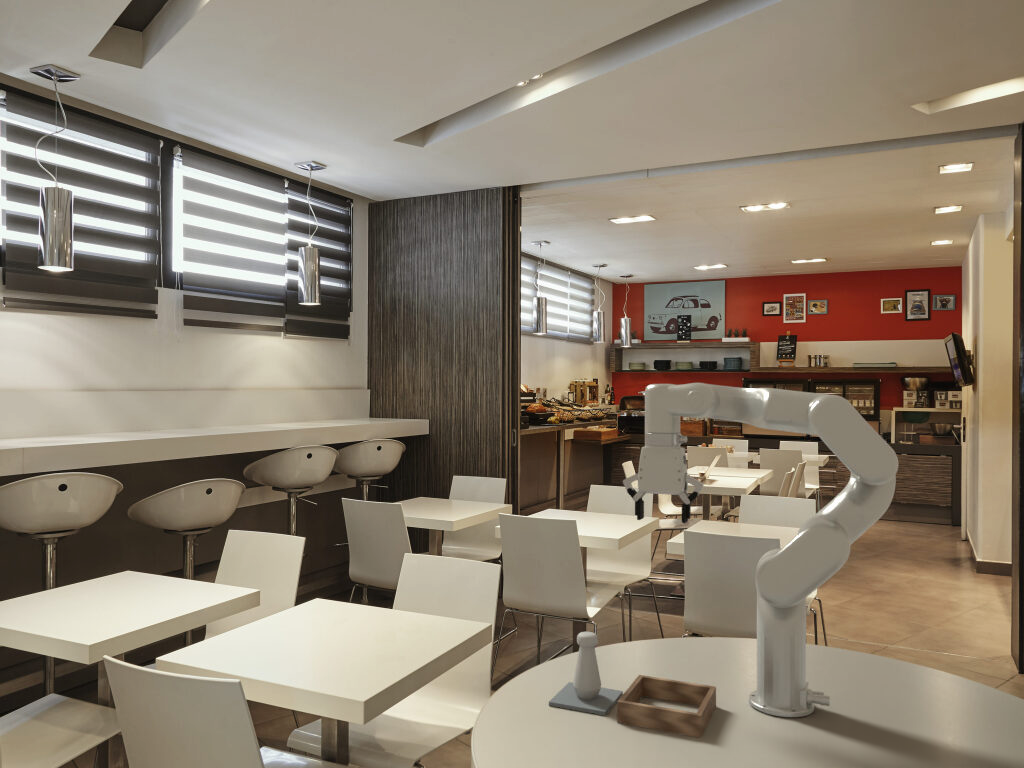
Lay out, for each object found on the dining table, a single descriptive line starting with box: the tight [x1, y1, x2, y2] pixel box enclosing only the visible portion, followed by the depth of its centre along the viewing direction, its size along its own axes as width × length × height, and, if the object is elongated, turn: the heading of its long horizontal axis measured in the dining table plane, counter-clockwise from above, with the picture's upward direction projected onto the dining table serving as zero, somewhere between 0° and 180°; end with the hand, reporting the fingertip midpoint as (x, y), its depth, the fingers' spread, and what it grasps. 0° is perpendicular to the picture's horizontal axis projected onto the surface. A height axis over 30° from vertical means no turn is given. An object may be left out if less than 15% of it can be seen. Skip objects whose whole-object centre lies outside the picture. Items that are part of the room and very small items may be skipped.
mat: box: [548, 681, 624, 717], centre depth 161 cm, size 12×12×1 cm
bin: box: [616, 674, 717, 739], centre depth 154 cm, size 16×16×4 cm
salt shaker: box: [572, 631, 602, 700], centre depth 162 cm, size 6×6×13 cm
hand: (662, 520), depth 168 cm, fingers open, 9 cm apart
